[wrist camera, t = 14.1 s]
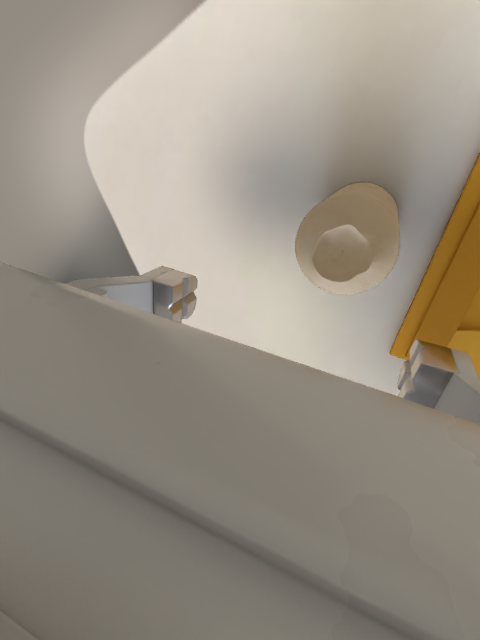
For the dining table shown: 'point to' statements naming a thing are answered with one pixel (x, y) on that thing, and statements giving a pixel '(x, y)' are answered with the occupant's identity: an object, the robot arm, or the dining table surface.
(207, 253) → the dining table surface
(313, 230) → the candle
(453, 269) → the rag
